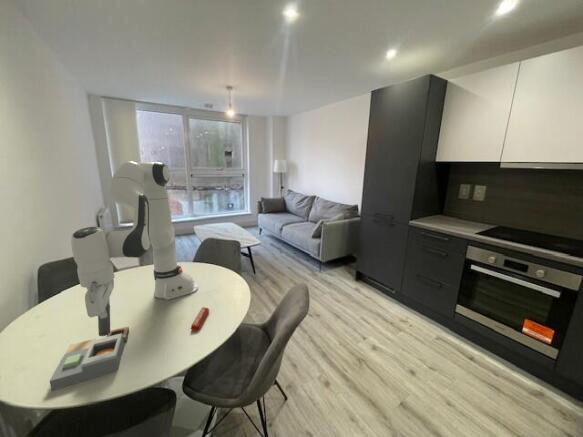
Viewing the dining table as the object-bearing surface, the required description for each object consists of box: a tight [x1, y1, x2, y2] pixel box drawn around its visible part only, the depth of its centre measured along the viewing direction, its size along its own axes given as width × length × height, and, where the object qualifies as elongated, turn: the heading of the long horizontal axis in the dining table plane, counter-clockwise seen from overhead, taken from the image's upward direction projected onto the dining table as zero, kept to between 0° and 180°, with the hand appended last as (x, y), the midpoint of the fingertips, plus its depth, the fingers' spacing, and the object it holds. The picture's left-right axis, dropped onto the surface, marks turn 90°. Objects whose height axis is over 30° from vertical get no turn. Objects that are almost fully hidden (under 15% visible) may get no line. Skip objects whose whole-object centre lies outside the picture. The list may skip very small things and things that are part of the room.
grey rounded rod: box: [97, 304, 111, 337], centre depth 81 cm, size 3×3×10 cm
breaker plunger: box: [96, 348, 114, 356], centre depth 83 cm, size 5×5×3 cm
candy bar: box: [190, 306, 210, 332], centre depth 107 cm, size 16×4×3 cm, turn 1°
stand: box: [105, 326, 130, 344], centre depth 95 cm, size 7×7×2 cm
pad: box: [64, 338, 97, 355], centre depth 89 cm, size 8×8×1 cm
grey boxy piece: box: [49, 333, 125, 391], centre depth 81 cm, size 17×12×6 cm
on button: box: [64, 354, 82, 369], centre depth 79 cm, size 4×4×3 cm
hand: (105, 313), depth 80 cm, fingers closed on grey rounded rod, 3 cm apart
